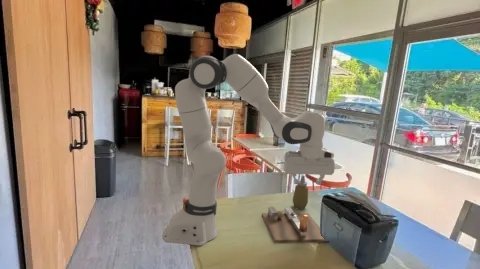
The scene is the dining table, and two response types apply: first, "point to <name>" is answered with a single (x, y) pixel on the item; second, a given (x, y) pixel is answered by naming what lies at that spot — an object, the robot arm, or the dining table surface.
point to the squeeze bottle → (301, 194)
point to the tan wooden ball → (280, 214)
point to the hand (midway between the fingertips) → (307, 183)
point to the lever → (297, 221)
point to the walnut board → (290, 228)
